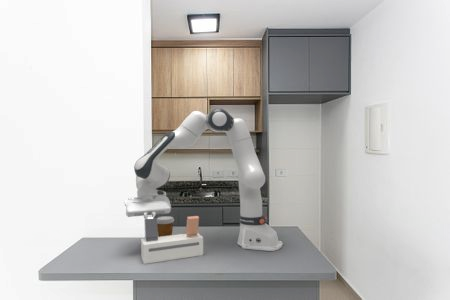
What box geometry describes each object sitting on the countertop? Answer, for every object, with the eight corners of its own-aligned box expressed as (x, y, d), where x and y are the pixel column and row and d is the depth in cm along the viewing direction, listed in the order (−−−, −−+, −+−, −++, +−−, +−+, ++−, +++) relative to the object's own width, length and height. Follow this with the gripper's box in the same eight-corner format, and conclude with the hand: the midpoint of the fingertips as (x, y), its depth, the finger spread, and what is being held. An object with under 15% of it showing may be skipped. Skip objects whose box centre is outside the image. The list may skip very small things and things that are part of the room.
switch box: (141, 256, 133) (141, 238, 133) (197, 248, 143) (197, 232, 143) (144, 264, 125) (143, 245, 125) (203, 255, 135) (203, 237, 135)
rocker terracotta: (185, 234, 138) (187, 216, 135) (196, 233, 139) (197, 215, 137) (186, 236, 136) (188, 219, 133) (197, 235, 138) (199, 218, 135)
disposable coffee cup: (170, 244, 150) (170, 220, 150) (152, 243, 152) (152, 219, 152) (177, 238, 160) (176, 216, 160) (160, 237, 162) (160, 215, 162)
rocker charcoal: (145, 241, 130) (144, 219, 133) (157, 239, 132) (156, 218, 135) (146, 240, 128) (145, 219, 131) (158, 239, 130) (156, 218, 133)
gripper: (124, 194, 137) (126, 220, 128) (169, 191, 145) (173, 215, 136) (124, 202, 141) (125, 228, 132) (167, 199, 149) (171, 223, 140)
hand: (150, 222), depth 134 cm, fingers closed, pressing on rocker charcoal
